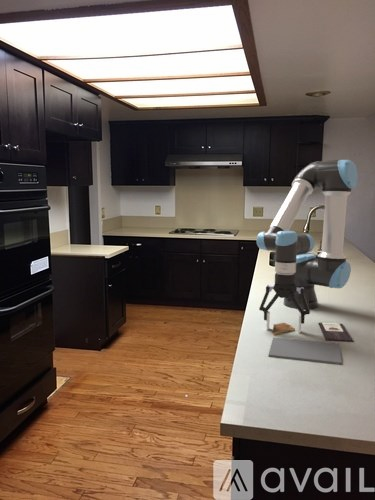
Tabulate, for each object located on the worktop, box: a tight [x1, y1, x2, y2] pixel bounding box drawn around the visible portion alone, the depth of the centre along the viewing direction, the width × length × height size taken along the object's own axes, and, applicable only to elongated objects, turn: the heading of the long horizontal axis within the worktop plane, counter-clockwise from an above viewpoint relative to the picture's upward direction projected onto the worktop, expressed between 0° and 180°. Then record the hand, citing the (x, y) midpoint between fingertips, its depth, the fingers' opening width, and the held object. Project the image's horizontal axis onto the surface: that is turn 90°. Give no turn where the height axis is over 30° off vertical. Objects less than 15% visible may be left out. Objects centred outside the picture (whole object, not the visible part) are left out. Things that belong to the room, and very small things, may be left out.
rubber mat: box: [268, 337, 343, 365], centre depth 135 cm, size 16×22×1 cm
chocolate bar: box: [318, 322, 354, 343], centre depth 152 cm, size 9×1×18 cm
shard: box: [272, 322, 296, 336], centre depth 155 cm, size 11×8×2 cm
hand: (283, 330), depth 154 cm, fingers open, 11 cm apart
